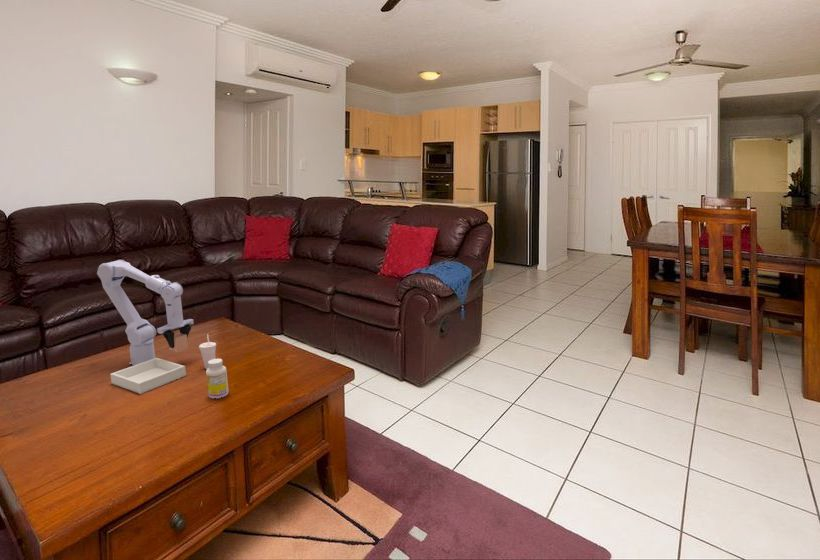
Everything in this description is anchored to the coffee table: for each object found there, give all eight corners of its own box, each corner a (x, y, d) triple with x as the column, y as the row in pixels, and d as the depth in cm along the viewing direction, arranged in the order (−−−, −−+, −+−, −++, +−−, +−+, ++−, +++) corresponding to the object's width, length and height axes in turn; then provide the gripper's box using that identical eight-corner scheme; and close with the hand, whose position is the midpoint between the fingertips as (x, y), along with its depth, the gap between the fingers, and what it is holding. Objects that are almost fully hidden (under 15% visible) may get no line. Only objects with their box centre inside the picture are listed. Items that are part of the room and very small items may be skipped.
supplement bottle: (212, 391, 164) (208, 357, 162) (231, 390, 165) (227, 356, 162) (205, 399, 158) (201, 365, 155) (225, 398, 158) (221, 364, 156)
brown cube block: (169, 350, 186) (167, 336, 185) (180, 346, 190) (178, 332, 189) (177, 352, 184) (175, 338, 182) (188, 348, 188) (186, 334, 187)
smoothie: (212, 370, 182) (208, 337, 179) (197, 369, 183) (194, 336, 180) (221, 364, 188) (218, 332, 185) (207, 363, 189) (204, 331, 186)
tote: (111, 383, 171) (110, 373, 170) (157, 366, 186) (156, 357, 185) (140, 394, 162) (138, 383, 161) (186, 375, 177) (185, 366, 177)
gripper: (163, 319, 176) (167, 352, 178) (196, 310, 188) (200, 341, 191) (152, 316, 179) (156, 349, 182) (185, 308, 191) (189, 338, 194)
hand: (178, 345), depth 186 cm, fingers closed on brown cube block, 5 cm apart
